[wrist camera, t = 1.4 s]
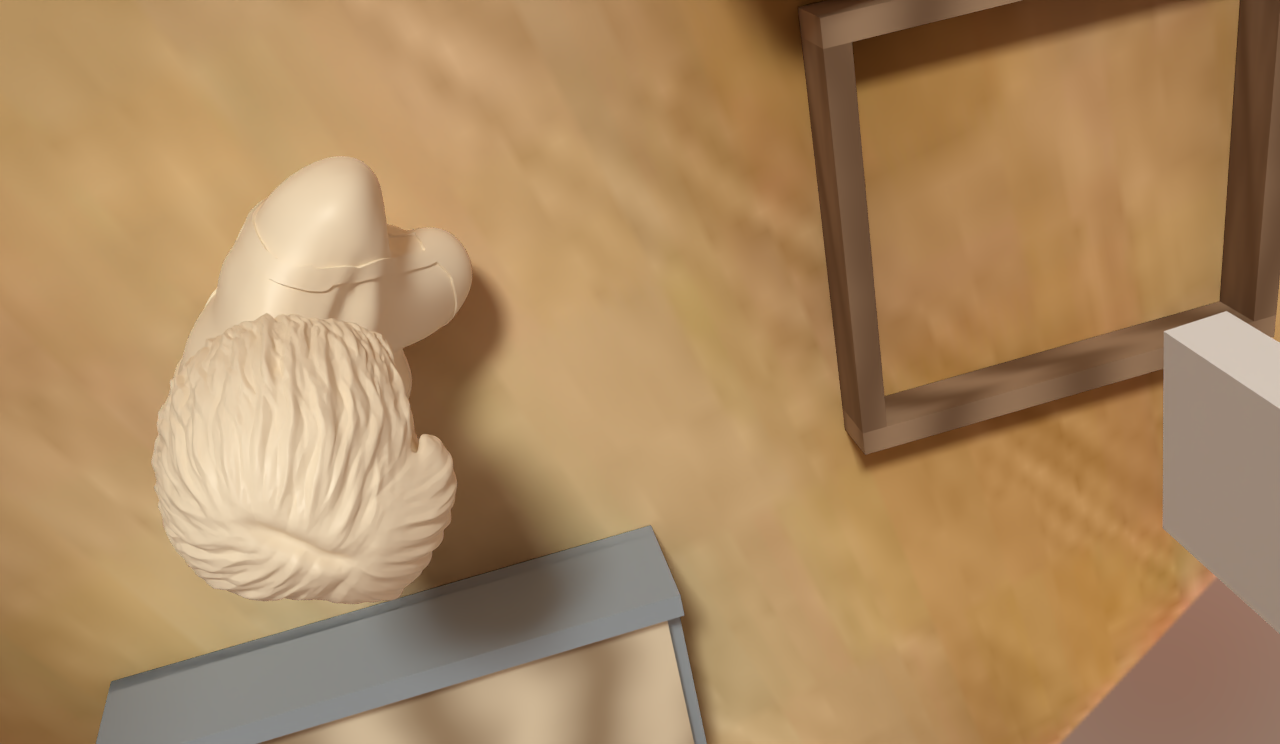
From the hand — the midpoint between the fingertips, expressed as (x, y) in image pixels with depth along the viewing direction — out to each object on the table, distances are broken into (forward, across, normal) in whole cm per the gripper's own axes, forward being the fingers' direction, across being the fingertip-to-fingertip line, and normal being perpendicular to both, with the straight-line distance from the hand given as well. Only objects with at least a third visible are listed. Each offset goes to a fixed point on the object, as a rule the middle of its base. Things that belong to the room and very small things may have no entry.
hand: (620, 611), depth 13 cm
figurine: (+37, -7, -9) cm, 38 cm away
